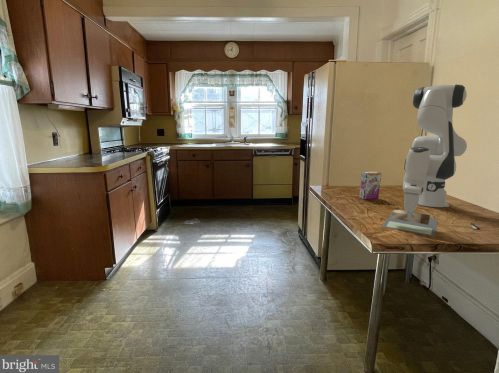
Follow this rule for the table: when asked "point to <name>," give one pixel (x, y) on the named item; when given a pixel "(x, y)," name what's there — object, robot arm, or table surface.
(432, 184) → the robot arm
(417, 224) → the rubber mat
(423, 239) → the table surface
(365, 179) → the candy bar box
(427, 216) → the beige rectangular block
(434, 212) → the table surface
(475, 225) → the chocolate bar
